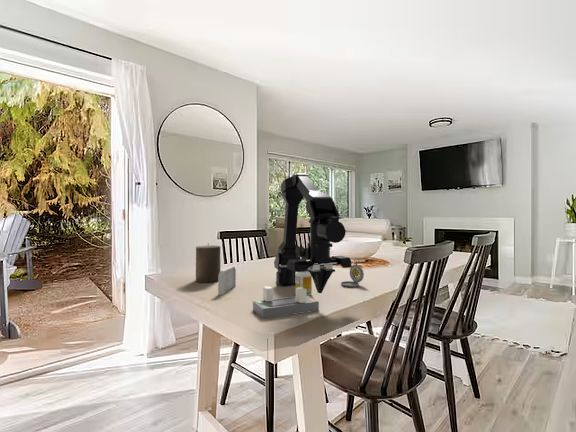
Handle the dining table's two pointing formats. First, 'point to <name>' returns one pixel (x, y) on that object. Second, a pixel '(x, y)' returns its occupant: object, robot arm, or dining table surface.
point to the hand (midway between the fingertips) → (319, 292)
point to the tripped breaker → (301, 294)
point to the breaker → (268, 293)
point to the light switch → (226, 280)
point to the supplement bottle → (304, 281)
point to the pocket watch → (354, 271)
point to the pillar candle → (207, 263)
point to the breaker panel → (284, 306)
